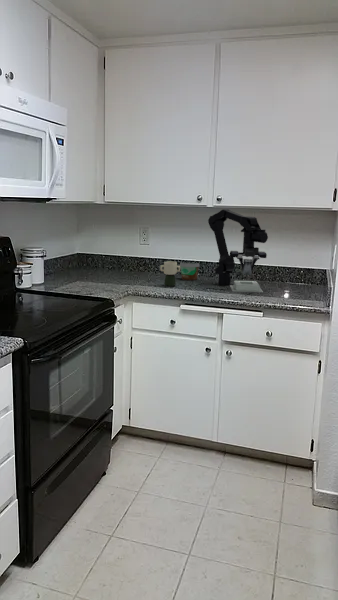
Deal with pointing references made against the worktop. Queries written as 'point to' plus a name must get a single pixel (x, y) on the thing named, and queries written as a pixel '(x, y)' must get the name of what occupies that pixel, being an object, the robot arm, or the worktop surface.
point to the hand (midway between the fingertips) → (247, 270)
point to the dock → (246, 287)
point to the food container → (189, 271)
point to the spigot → (247, 266)
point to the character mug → (170, 272)
